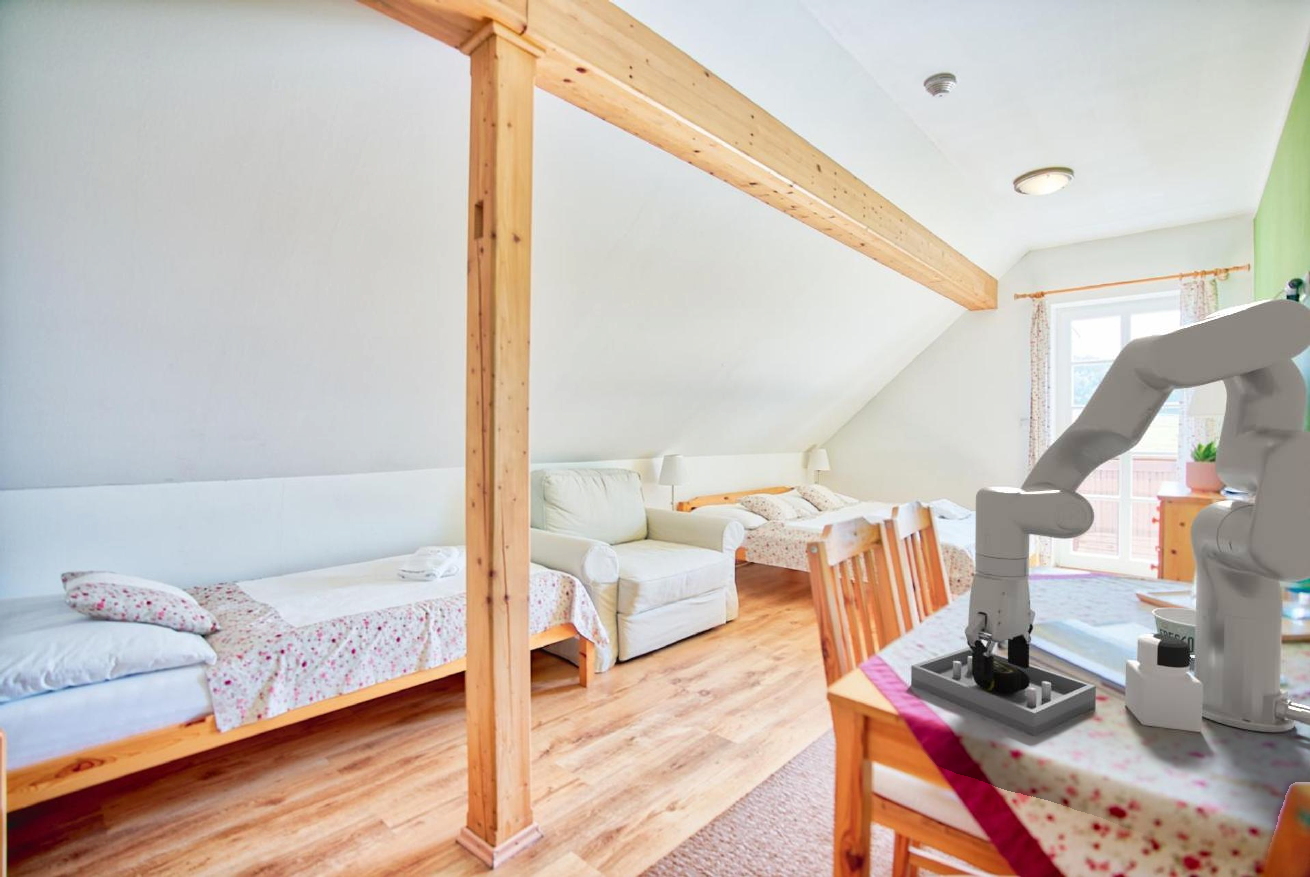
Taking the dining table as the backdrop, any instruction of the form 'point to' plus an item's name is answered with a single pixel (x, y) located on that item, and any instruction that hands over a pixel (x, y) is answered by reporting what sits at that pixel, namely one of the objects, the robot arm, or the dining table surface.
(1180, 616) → the food container
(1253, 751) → the dining table surface
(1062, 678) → the pin tray
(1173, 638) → the medicine bottle
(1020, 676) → the tape measure
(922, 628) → the dining table surface
